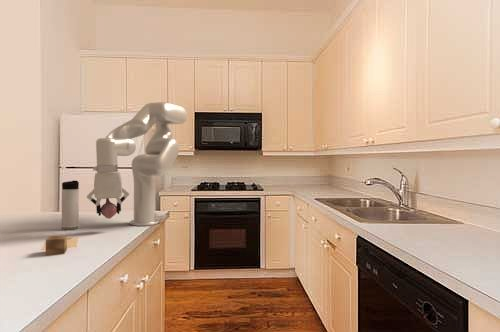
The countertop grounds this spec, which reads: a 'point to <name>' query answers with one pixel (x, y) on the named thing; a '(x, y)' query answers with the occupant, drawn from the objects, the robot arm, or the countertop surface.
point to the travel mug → (70, 205)
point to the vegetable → (108, 209)
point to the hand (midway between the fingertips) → (109, 213)
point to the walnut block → (56, 245)
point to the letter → (70, 243)
